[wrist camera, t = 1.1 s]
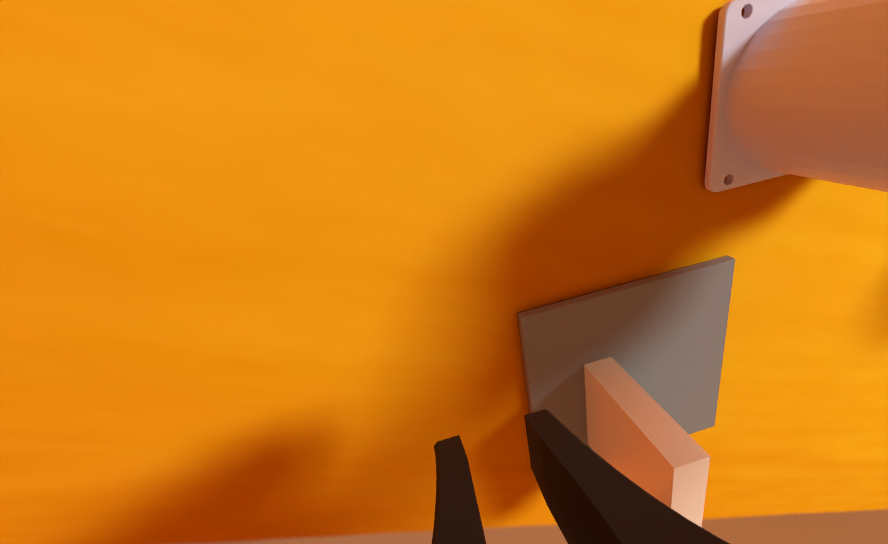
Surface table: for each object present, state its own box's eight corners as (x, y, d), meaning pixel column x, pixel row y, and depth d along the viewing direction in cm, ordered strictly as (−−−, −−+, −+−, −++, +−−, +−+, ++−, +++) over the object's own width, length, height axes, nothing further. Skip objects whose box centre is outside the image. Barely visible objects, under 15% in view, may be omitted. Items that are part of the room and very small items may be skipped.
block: (613, 355, 23) (713, 454, 17) (614, 435, 26) (701, 547, 19) (584, 364, 23) (674, 468, 16) (588, 443, 25) (667, 560, 19)
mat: (727, 255, 23) (735, 258, 22) (708, 420, 28) (714, 425, 27) (517, 313, 21) (521, 317, 21) (537, 475, 26) (541, 482, 26)
